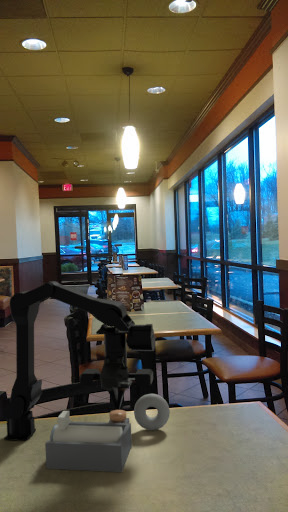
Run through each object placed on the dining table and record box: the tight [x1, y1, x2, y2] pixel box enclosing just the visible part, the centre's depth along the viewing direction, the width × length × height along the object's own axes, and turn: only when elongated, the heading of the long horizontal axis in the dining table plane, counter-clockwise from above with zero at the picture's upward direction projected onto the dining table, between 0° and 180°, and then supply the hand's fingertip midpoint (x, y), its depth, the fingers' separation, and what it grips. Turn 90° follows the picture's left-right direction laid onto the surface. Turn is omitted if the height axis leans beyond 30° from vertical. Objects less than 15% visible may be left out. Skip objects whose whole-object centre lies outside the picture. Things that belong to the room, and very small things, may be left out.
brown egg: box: [108, 409, 127, 423], centre depth 109 cm, size 4×4×6 cm
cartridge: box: [49, 410, 123, 444], centre depth 101 cm, size 17×6×9 cm, turn 81°
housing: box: [44, 417, 133, 473], centre depth 103 cm, size 18×18×6 cm
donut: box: [133, 393, 171, 431], centre depth 114 cm, size 10×3×10 cm, turn 86°
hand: (117, 409), depth 109 cm, fingers closed
